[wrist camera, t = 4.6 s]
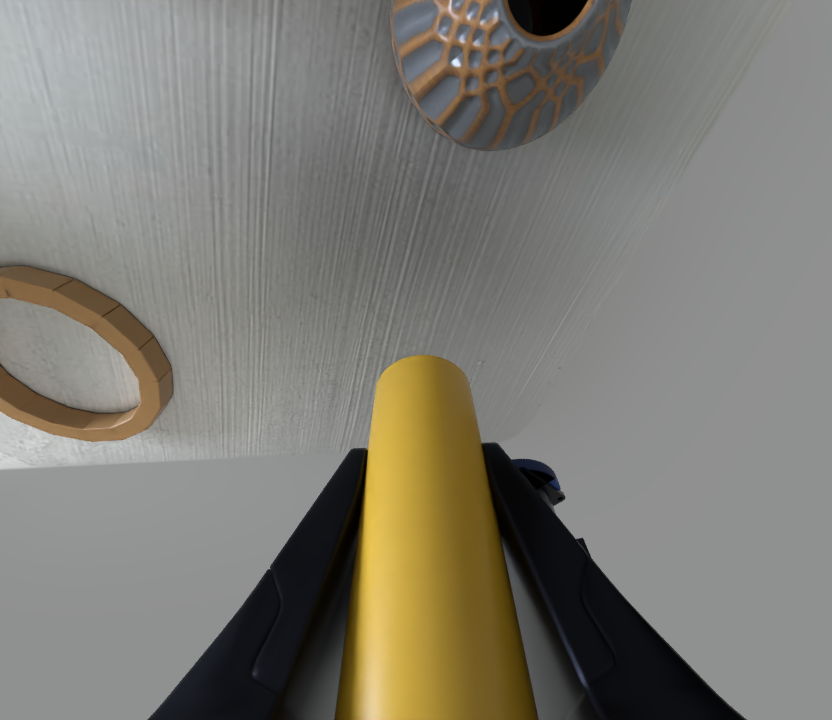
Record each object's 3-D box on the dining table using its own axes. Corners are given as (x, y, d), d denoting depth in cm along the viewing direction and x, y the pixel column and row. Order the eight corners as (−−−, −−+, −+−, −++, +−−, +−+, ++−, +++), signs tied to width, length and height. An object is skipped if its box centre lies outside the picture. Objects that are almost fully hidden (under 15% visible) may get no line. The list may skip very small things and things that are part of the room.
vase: (598, 64, 15) (774, 27, 8) (455, 175, 17) (487, 227, 10) (522, -161, 12) (702, -595, 4) (357, 13, 14) (299, -86, 7)
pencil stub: (489, 389, 12) (625, 887, 4) (425, 438, 13) (443, 887, 5) (420, 335, 10) (441, 897, 3) (356, 395, 12) (262, 893, 4)
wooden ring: (202, 349, 23) (190, 363, 21) (138, 448, 28) (125, 464, 26) (-32, 218, 18) (-65, 227, 17) (-58, 365, 23) (-84, 380, 22)
